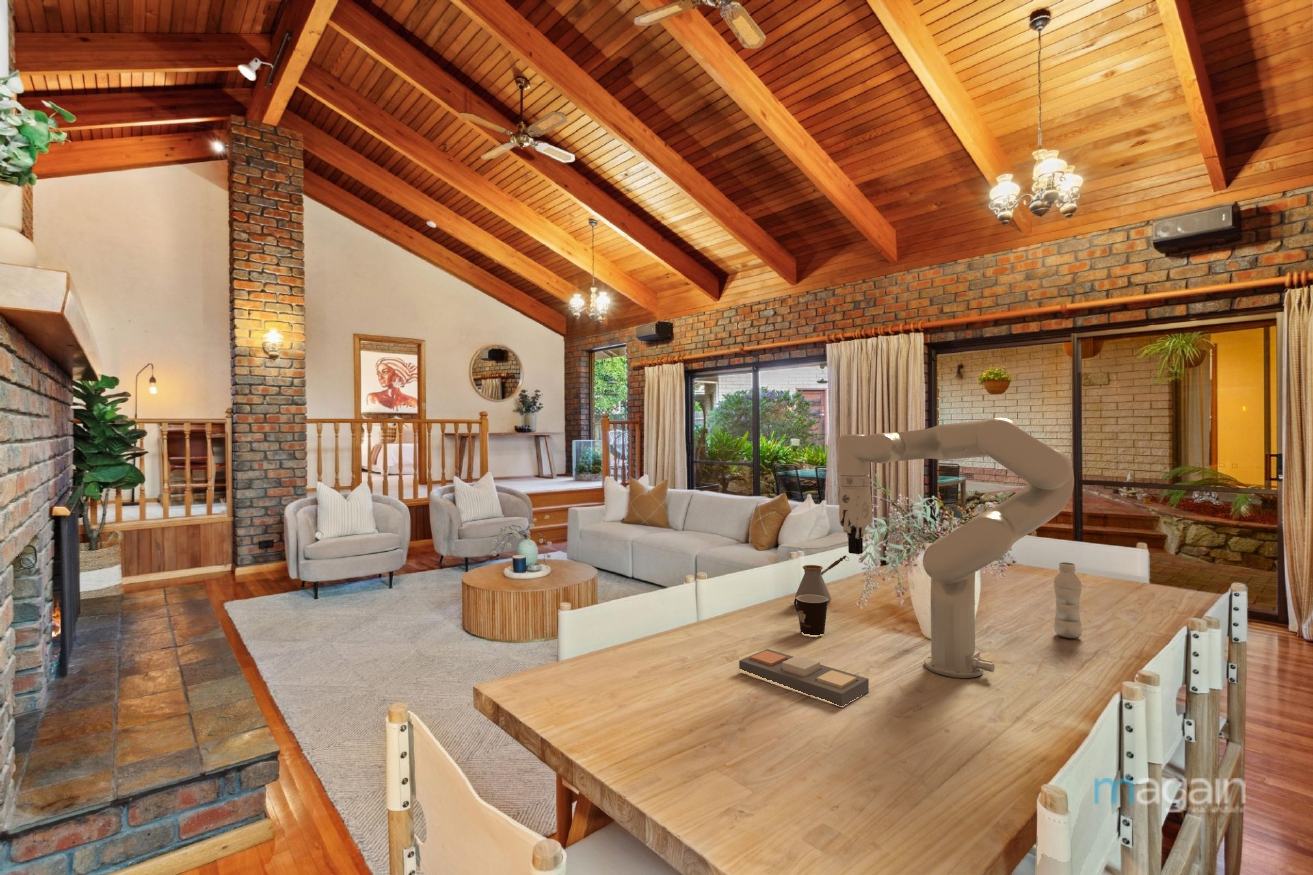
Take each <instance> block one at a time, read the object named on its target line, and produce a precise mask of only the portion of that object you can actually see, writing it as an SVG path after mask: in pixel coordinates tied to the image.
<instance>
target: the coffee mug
mask: <svg viewBox="0 0 1313 875" xmlns="http://www.w3.org/2000/svg"><path fill="white" fill-rule="evenodd" d="M827 603H828V599H827V598H826V597H823V596H819V595H800V596H797V597H796V598H795V597H794V601H793V607H795V610H796V613H797V615H798V622H799V628H800V630H801V631H800V633H801V632H803V633H804V634H810V635H820V634H824V635H825V632H826V631H825V629H826V621H827V612H828V605H827Z"/></svg>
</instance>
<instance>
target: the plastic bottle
mask: <svg viewBox="0 0 1313 875" xmlns="http://www.w3.org/2000/svg"><path fill="white" fill-rule="evenodd" d="M1058 565H1059V566H1058V570H1059V572H1058V574H1057V575H1056V576H1055V577H1054V579H1053V589H1054V595H1055V605H1056V606H1055V617H1054V619H1053V620H1054V621H1053V629H1054V630H1053V631H1054V632H1055V634H1056V635H1057V636H1060V637H1062V638H1066V639H1079V638H1080V637H1082V633H1083V627H1082V621H1081V614H1080V600H1081V592H1082V585H1083V584H1082V582H1081V580H1080V579H1079V577H1078V576H1077V574H1076V573H1075V572H1076V564H1075V563H1073V562H1069V561H1068V562H1067V561H1065V562H1063V561H1062V562H1059V563H1058Z"/></svg>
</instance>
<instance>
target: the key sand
mask: <svg viewBox="0 0 1313 875" xmlns="http://www.w3.org/2000/svg"><path fill="white" fill-rule="evenodd" d="M817 681H818V682H821V683H824V684H827V685H831V686H834V687H837V688H840V689H844V688H846V687H848V686H849V685H851V684H853V683H855V682H856V677H853V676H849V675H846V674H843V673H839V672H836V671H833V670H831V671H829V672H827V673H825V674H823V675H821V676H819V677H817Z"/></svg>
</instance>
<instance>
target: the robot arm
mask: <svg viewBox="0 0 1313 875" xmlns="http://www.w3.org/2000/svg"><path fill="white" fill-rule="evenodd" d="M983 457H985V458H986V457H990V458H991V459H993V461H995V462H996V463H998V464H1000V465H1001V466H1002V467H1004V468H1006V469H1007V470H1009V471H1010V472H1011V473H1013V474H1015V476H1018V478H1020V479H1022V480H1024V481H1025V482H1026V483H1027V484H1026V485H1025V486H1024V487H1023V488H1022V489H1020V490H1019V491H1017V492H1016V493H1014V494H1012V495H1011V496H1010V497H1008V498H1007V499H1005V500H1004V501H1002V502H1000V503H999V504H997V505H995V506H994V507H992V508H990V509H988V510H986V511H983V512H981V513H979V514H977V515H975V516H974V517H973V518H972V519H970V520H969V521H967V522H966V523H964V524H963V525H961V526H960V527H958V528H956V529H955V530H953V531H952V532H950V533H948V534H946V535H943V536H939V537H938V538H937V539H935V541H933V542H932V543H931V544H930V545H929V546H928V547H927V548H926V549H925V551H924V553H923V556H922V566H923V569H924V571H925V573H926V574H927V576H928V577H930V654H931V655H929V656H927V657H925V658H924V659H923V660H924V661H923V662H924V663H923V664H924V666H925V667H926V669H928V670H929V671H930V672H933V673H935V674H938V675H942V676H946V677H951V678H957V679H972V678H977V677H979V676H982V675H983V673H984V671H986V672H990V673H994V671H995V663H993V660H990V659H984V658H982V657H981V656H980V655H981V654H980V653H981V652H980V651H979V650H976V614H975V613H976V610H975V608H976V607H975V606H976V597H975V596H976V573H977V572H978V571H979V570H981V569H983V568H986V567H987V566H989V565H991V564H993V563H994V562H996V561H997V560H999V559H1000V558H1002V557H1004V556H1005V555H1006V554H1007V553H1008V552H1009V551H1010V550H1011V549H1012V547H1013V545H1014V544H1016V542H1018V541H1019V540H1020V539H1022V538H1024V537H1026V536H1028V535H1029V534H1031V533H1032V532H1034V531H1036V530H1037V529H1038V528H1040V527H1042V526H1043V525H1045V524H1047V523H1048V522H1050V521H1051V520H1052V519H1053V518H1055V517H1056V516H1058V515H1059V514H1060V513H1061V511H1062V510H1063V509H1065V507H1066V506H1067V505H1068V503H1069V501H1070V499H1071V497H1072V494H1073V492H1074V488H1075V475H1074V474H1075V473H1074V468H1073V465H1072V464H1073V463H1072V461H1071V459H1070V458H1069V457H1068V456H1067V454H1065V453H1064V452H1062V451H1061V450H1059V449H1055V448H1052V447H1051V446H1048V445H1047V444H1046V443H1044V442H1042V441H1040V440H1039V439H1037V438H1036V437H1034V436H1032V435H1031V434H1030V433H1028V432H1027V431H1025V430H1023V429H1022V428H1020V426H1019V425H1018V424H1017V423H1016V422H1015V421H1013V420H1012V419H1010V418H1005V417H994V418H989V419H982V420H981V419H980V420H979V419H978V420H973V421H972V420H970V421H964V422H955V423H954V422H953V423H952V422H951V423H943V424H937V425H935V426H933V427H928V428H923V429H916V430H915V429H913V430H905V431H897V432H896V431H895V432H880V433H874V434H867V435H866V434H862V433H861V434H860V433H858V434H857V433H856V434H843V435H840V436H839V438H838V479H839V480H838V483H839V489H840V492H839V502H838V503H839V506H838V516H839V517H838V518H839V519H838V520H839V525H840V526H841V527H843V528H842V530H843V533H846V535H847V538H848V539H847V541H848V542H847V544H848V545H847V550H848V554H853V555H861V554H863V552H864V543H863V542H864V540H863V539H864V532H865V529H867V527H868V526H870V525H871V524H873V521H874V518H873V502H872V494H871V493H872V492H871V485H870V484H871V483H870V482H871V480H870V478H871V476H870V475H871V473H870V468H871V467H870V463H874V464H887V463H893V462H894V463H895V462H900V461H912V460H926V459H931V460H932V459H933V460H939V461H948V460H959V459H960V460H961V459H972V458H974V459H975V458H983Z"/></svg>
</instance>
